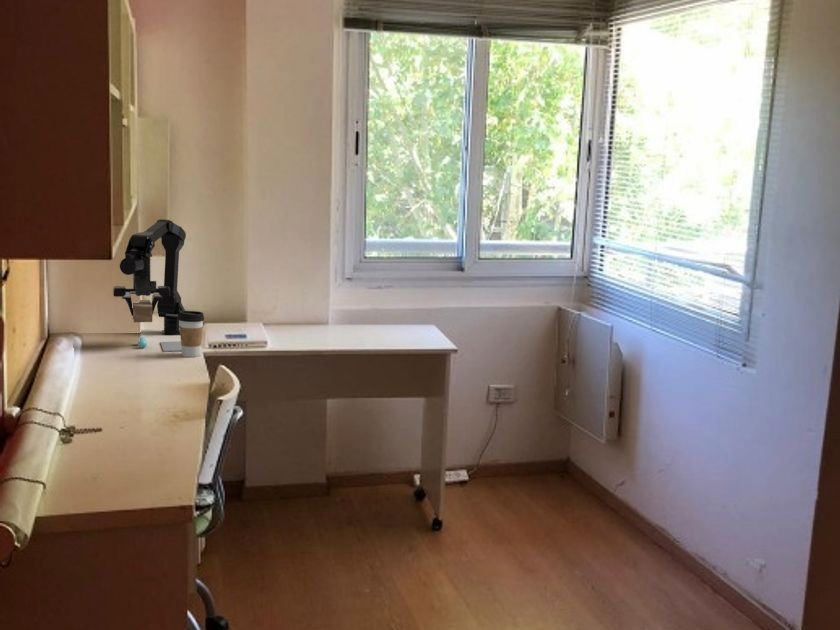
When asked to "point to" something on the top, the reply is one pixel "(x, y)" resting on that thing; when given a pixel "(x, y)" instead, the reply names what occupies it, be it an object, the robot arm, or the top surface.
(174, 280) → the robot arm
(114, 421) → the top surface
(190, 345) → the coffee cup
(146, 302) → the walnut cover
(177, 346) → the felt mat
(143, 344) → the marble
